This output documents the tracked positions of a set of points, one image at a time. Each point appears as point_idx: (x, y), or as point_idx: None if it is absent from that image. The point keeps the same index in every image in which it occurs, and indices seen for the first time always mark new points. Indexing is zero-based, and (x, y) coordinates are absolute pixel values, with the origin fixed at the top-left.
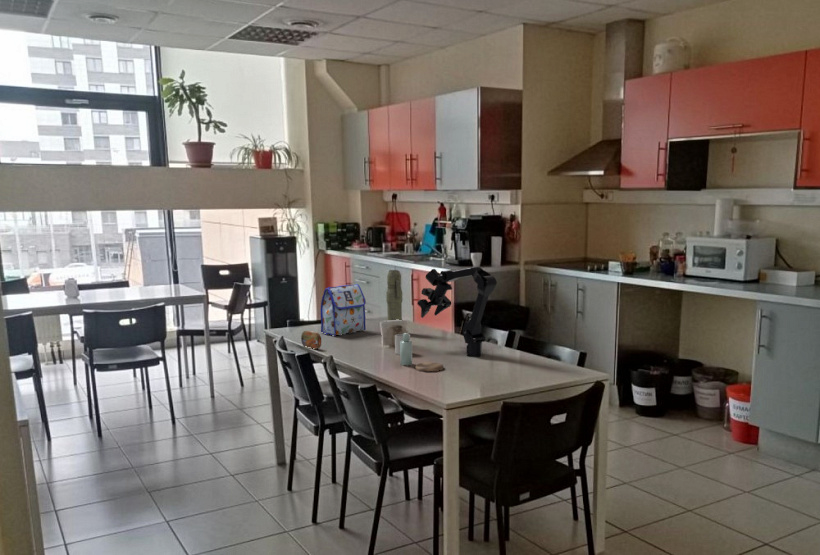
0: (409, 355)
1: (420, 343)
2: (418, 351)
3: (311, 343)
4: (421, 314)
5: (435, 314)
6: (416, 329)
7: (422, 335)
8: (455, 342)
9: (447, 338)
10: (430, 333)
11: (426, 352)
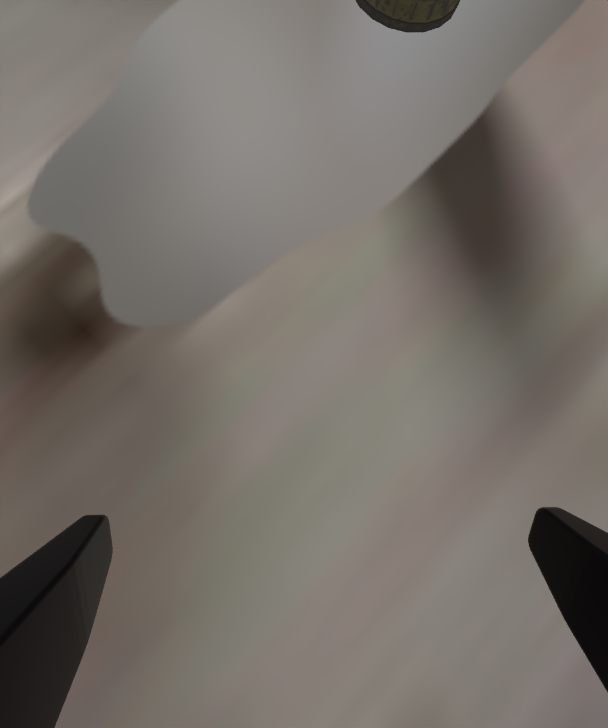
0: None
1: (289, 370)
2: None
3: None
4: (18, 583)
5: (545, 555)
6: (595, 16)
7: (503, 174)
8: None
9: (584, 392)
10: (592, 170)
11: None
